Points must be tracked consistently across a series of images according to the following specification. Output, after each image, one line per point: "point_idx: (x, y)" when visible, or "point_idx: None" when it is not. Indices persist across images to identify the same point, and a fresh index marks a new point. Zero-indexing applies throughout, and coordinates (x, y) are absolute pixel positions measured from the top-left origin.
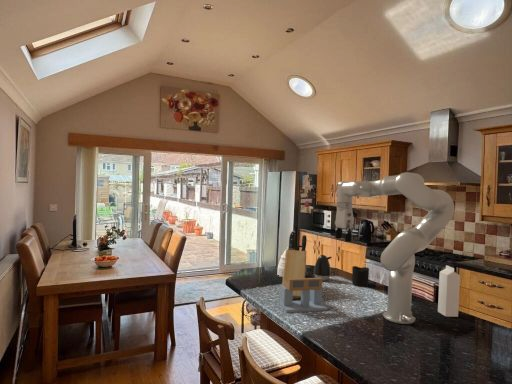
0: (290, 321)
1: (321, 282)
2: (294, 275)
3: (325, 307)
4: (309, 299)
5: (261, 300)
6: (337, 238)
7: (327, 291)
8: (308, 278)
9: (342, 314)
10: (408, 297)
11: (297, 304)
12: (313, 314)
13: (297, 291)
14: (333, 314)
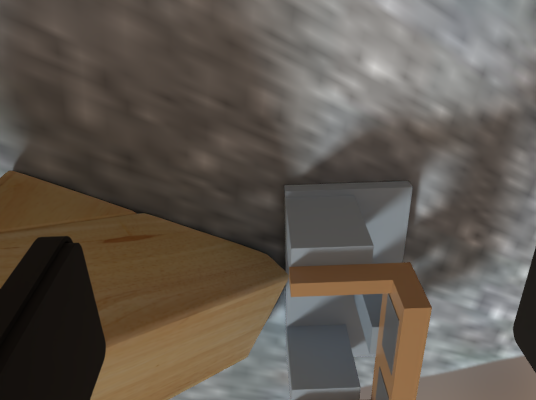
0: (472, 353)
1: (423, 294)
2: (178, 358)
3: (407, 197)
4: None
5: (234, 396)
6: (92, 317)
7: (86, 42)
8: (404, 377)
9: (482, 131)
10: None
11: (338, 302)
12: (436, 259)
13: (261, 308)
14: (466, 175)
